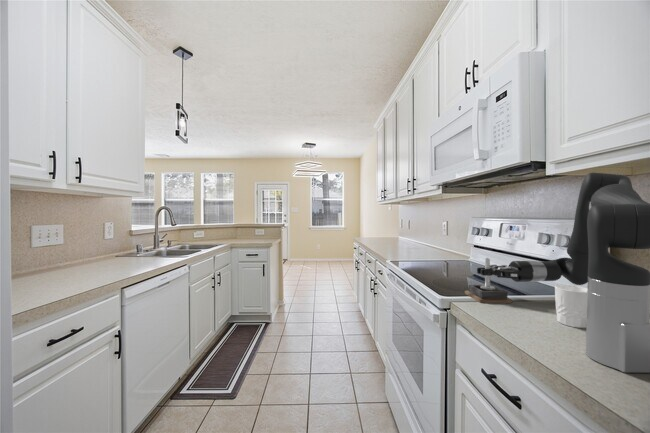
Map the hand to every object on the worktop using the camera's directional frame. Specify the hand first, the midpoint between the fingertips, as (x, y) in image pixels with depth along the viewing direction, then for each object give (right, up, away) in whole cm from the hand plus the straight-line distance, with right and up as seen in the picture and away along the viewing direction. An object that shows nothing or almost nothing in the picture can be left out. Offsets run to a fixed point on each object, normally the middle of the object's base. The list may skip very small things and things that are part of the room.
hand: (479, 271), depth 103 cm
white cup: (+14, -10, -23) cm, 29 cm away
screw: (+3, -8, 0) cm, 9 cm away
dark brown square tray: (+3, -10, 0) cm, 10 cm away
